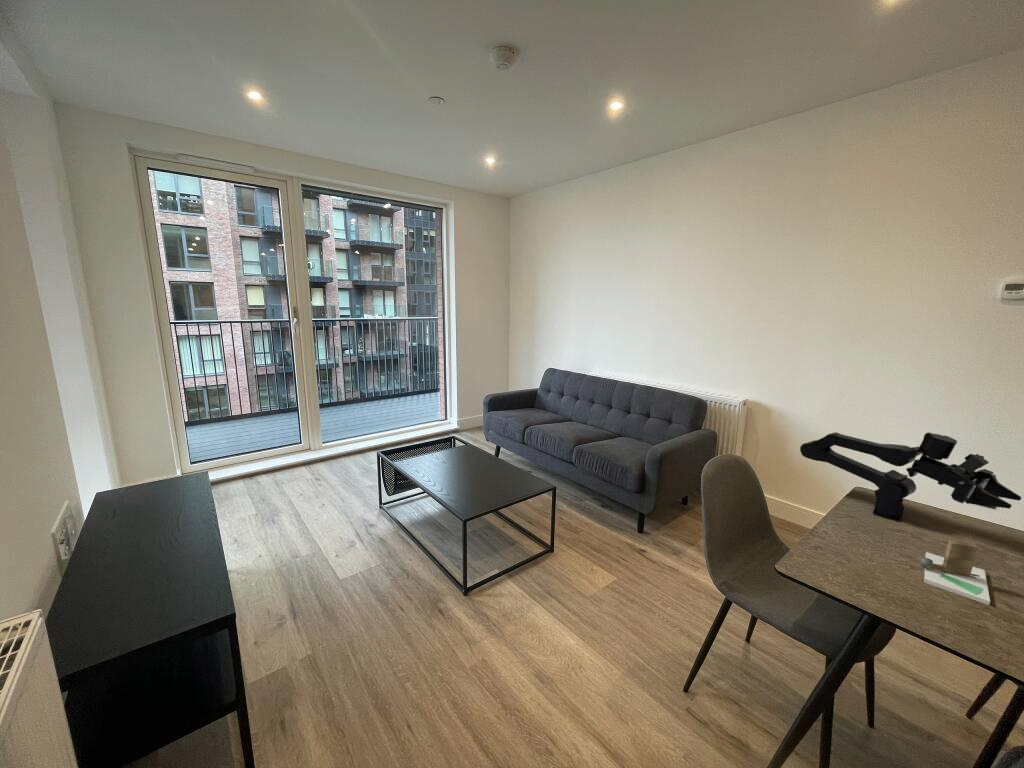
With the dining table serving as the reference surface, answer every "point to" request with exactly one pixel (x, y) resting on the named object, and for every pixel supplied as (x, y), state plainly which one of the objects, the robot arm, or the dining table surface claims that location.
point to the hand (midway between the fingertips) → (1015, 502)
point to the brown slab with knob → (955, 559)
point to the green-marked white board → (958, 581)
